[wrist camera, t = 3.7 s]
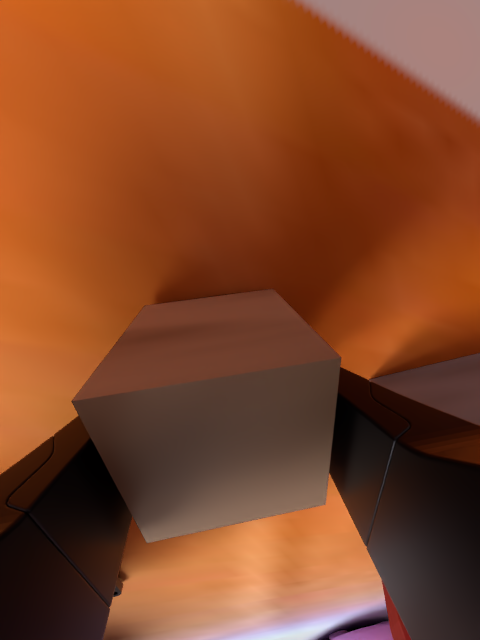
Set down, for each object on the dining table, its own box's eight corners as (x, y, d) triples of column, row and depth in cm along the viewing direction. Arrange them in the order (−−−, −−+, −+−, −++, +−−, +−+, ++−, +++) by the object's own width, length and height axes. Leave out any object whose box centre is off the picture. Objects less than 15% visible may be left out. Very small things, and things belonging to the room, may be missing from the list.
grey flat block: (466, 439, 16) (542, 503, 12) (359, 466, 16) (405, 540, 12) (500, 344, 13) (618, 393, 9) (365, 376, 12) (431, 440, 9)
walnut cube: (276, 387, 11) (325, 505, 6) (173, 404, 11) (146, 543, 6) (272, 288, 9) (340, 357, 4) (144, 305, 8) (71, 401, 4)
